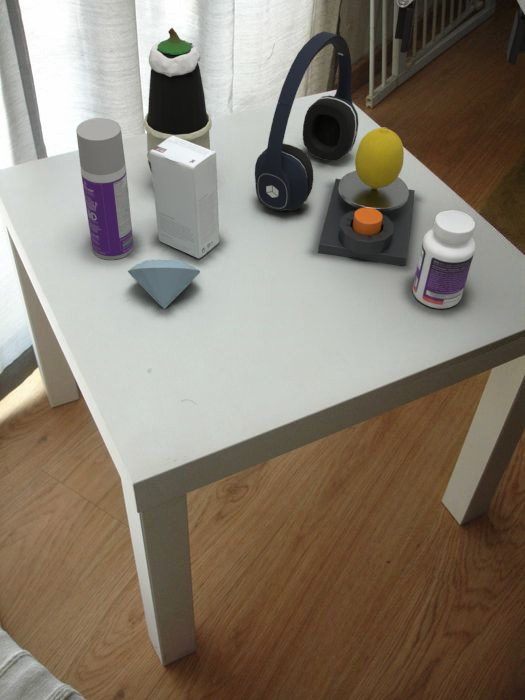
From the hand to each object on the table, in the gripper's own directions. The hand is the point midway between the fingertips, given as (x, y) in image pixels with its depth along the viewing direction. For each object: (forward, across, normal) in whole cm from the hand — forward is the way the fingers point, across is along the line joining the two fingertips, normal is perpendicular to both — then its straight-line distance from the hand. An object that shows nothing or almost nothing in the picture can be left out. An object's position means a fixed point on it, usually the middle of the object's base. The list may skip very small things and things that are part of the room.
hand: (457, 52), depth 72 cm
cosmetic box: (+25, +26, +2) cm, 36 cm away
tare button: (+22, +6, -2) cm, 23 cm away
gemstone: (+25, +26, +11) cm, 38 cm away
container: (+25, +34, +5) cm, 42 cm away
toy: (+24, +30, -9) cm, 40 cm away
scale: (+25, +6, -7) cm, 26 cm away
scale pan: (+22, +6, -9) cm, 24 cm away
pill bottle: (+25, -3, +4) cm, 26 cm away
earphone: (+25, +15, -14) cm, 32 cm away
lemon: (+21, +6, -9) cm, 24 cm away
